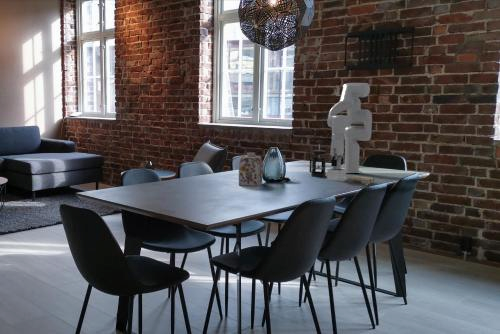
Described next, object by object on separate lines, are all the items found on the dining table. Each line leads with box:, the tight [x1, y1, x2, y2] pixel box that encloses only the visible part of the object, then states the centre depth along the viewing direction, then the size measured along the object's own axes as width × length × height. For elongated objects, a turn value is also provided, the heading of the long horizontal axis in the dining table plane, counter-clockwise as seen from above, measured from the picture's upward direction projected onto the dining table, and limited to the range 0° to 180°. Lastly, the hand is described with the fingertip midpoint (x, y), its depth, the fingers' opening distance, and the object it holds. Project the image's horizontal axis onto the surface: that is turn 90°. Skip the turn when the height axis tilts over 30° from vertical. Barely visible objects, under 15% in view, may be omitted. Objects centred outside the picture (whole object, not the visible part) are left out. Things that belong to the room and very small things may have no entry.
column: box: [332, 155, 342, 170], centre depth 305 cm, size 5×5×15 cm
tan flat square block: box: [346, 175, 375, 185], centre depth 298 cm, size 12×12×3 cm
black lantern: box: [309, 140, 327, 178], centre depth 317 cm, size 12×9×23 cm
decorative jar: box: [238, 152, 264, 187], centre depth 286 cm, size 12×12×18 cm
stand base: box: [323, 167, 347, 182], centre depth 305 cm, size 12×12×7 cm
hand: (337, 165), depth 305 cm, fingers open, 9 cm apart
